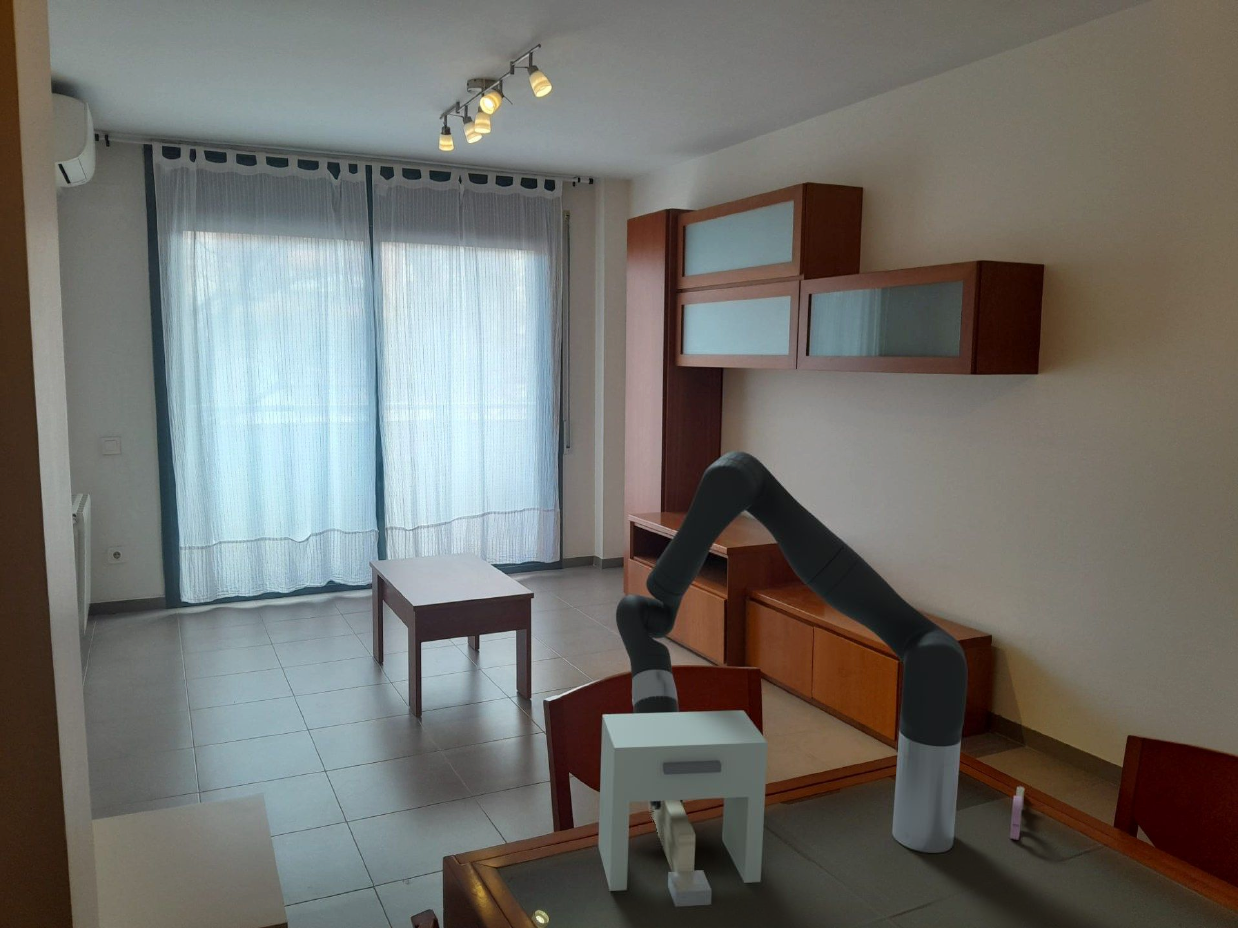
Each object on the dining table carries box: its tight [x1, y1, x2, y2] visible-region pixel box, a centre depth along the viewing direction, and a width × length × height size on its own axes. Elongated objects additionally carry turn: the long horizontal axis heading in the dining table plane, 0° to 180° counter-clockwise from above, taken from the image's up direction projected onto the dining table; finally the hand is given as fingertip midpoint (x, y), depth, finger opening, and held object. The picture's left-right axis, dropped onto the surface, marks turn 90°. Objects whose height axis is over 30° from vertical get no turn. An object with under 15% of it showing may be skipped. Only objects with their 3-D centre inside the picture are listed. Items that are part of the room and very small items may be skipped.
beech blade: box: [648, 800, 696, 872], centre depth 142 cm, size 22×2×8 cm, turn 9°
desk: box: [598, 709, 769, 892], centre depth 135 cm, size 13×22×21 cm, turn 99°
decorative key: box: [1009, 785, 1025, 841], centre depth 154 cm, size 7×1×20 cm
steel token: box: [667, 869, 712, 908], centre depth 129 cm, size 5×5×2 cm
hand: (667, 807), depth 144 cm, fingers closed on beech blade, 2 cm apart
